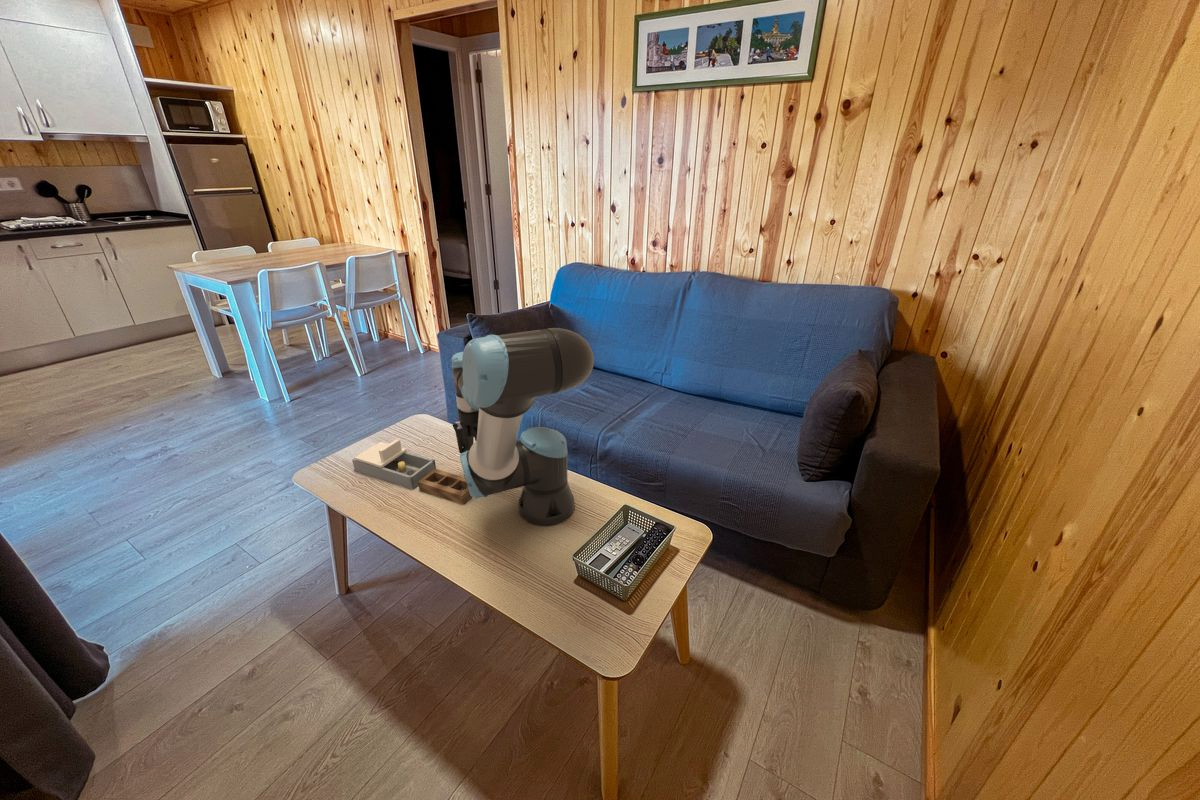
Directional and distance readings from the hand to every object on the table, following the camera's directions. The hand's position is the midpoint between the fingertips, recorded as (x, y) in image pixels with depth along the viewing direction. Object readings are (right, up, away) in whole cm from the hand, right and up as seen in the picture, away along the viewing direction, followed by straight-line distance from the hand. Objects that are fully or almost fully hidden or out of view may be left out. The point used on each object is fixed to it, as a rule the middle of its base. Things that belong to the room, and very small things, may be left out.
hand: (479, 475), depth 139 cm
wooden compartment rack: (-7, -3, -6) cm, 10 cm away
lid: (-30, +6, +2) cm, 31 cm away
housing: (-26, +1, +2) cm, 26 cm away
